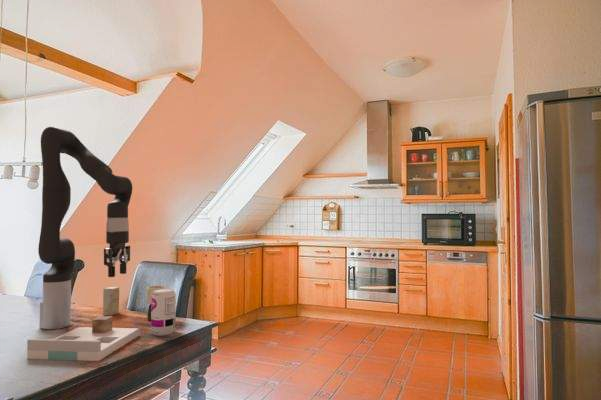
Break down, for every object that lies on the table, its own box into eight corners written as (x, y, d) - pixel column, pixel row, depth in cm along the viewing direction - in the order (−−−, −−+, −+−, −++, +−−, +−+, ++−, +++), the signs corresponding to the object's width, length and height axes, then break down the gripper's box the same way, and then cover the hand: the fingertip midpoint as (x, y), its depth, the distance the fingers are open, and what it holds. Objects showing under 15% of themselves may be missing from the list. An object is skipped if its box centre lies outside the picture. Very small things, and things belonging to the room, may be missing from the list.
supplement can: (151, 337, 137) (152, 293, 138) (150, 331, 145) (150, 289, 145) (176, 334, 141) (176, 291, 141) (173, 328, 148) (174, 287, 149)
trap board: (27, 358, 117) (27, 339, 117) (79, 334, 141) (79, 318, 141) (98, 360, 115) (98, 341, 116) (138, 335, 139) (139, 319, 139)
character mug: (169, 320, 160) (170, 287, 160) (152, 323, 155) (152, 289, 155) (158, 315, 168) (158, 284, 168) (141, 318, 163) (141, 286, 163)
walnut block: (92, 332, 134) (92, 319, 134) (99, 329, 139) (100, 316, 139) (104, 333, 134) (105, 319, 134) (112, 329, 138) (112, 316, 138)
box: (111, 315, 167) (111, 288, 168) (102, 315, 168) (102, 288, 169) (119, 312, 173) (119, 286, 173) (110, 312, 173) (111, 286, 174)
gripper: (118, 229, 154) (118, 272, 153) (96, 231, 140) (96, 278, 139) (137, 229, 153) (136, 272, 153) (116, 230, 139) (116, 278, 138)
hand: (117, 275), depth 146 cm, fingers open, 7 cm apart
